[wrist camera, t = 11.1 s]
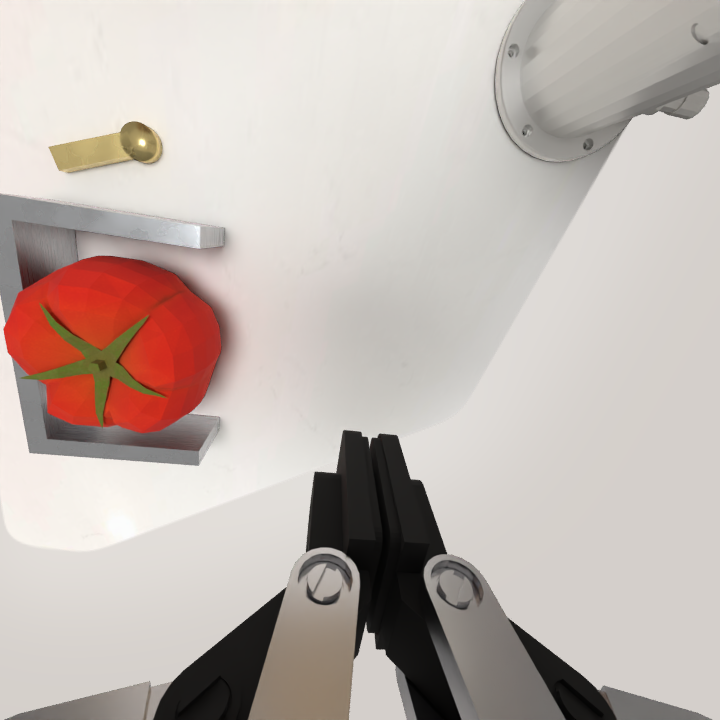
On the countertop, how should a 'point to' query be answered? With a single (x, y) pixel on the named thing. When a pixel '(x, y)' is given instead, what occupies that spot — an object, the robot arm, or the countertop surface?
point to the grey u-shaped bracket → (57, 250)
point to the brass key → (109, 149)
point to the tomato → (115, 343)
